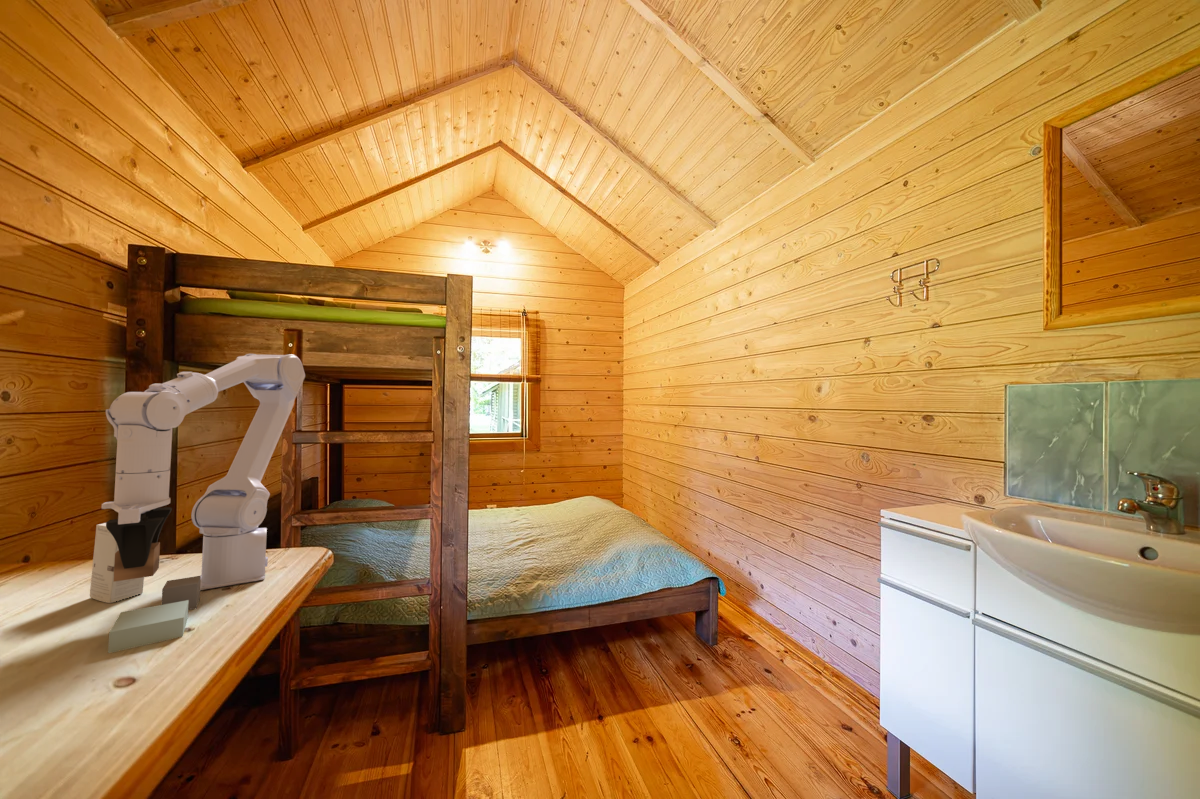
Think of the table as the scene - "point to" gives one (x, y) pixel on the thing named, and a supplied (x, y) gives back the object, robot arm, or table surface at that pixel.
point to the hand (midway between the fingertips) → (138, 562)
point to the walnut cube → (138, 572)
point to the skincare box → (109, 571)
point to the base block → (148, 626)
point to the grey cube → (182, 591)
